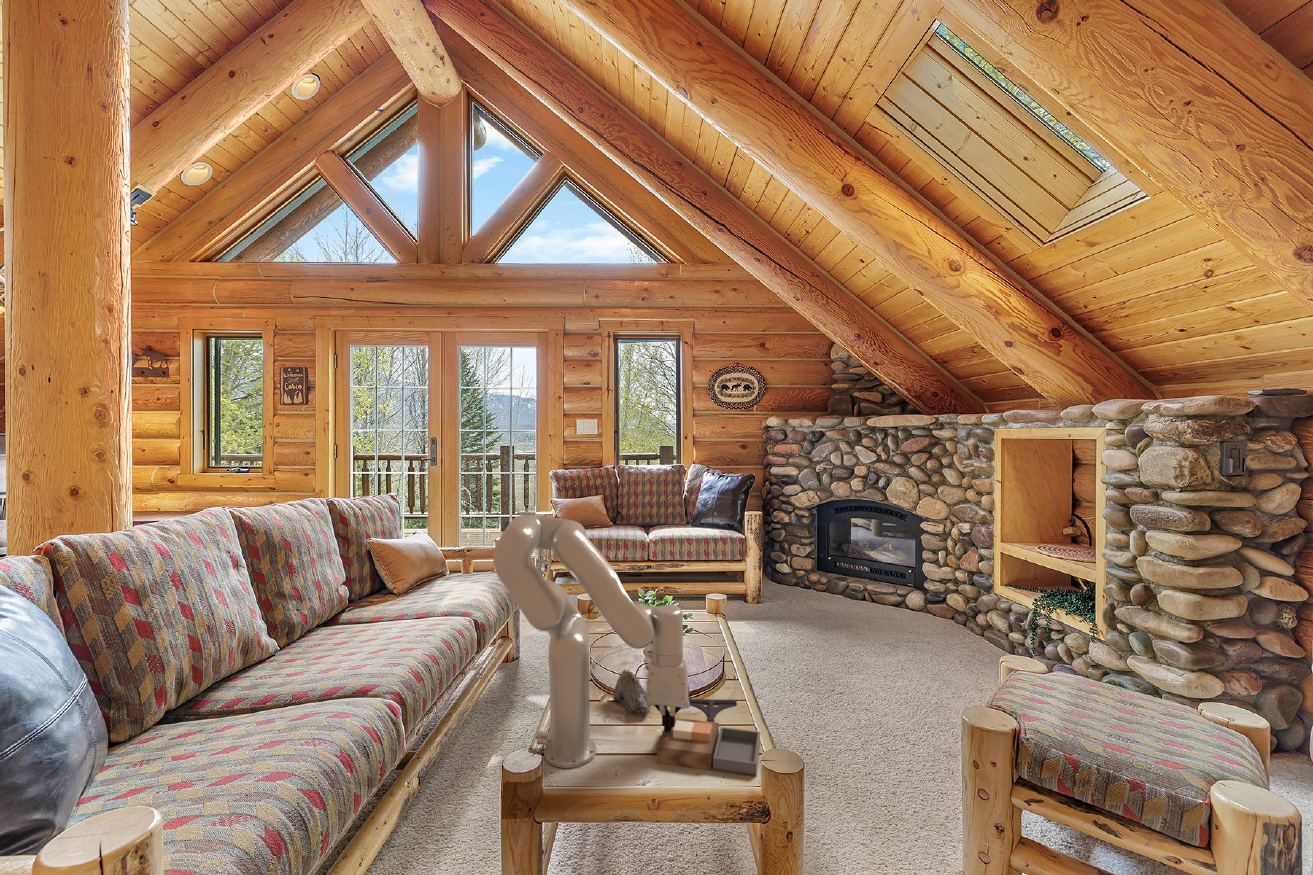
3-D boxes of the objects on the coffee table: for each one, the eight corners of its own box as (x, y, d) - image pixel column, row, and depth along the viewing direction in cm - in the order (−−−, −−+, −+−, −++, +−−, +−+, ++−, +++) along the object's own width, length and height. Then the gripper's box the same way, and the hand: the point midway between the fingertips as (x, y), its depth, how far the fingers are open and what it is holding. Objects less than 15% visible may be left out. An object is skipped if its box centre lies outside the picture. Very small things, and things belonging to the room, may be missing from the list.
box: (713, 770, 142) (713, 757, 142) (720, 738, 156) (720, 726, 155) (756, 776, 140) (756, 763, 140) (760, 743, 153) (760, 731, 153)
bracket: (684, 731, 160) (684, 721, 160) (685, 703, 175) (685, 693, 175) (739, 733, 159) (739, 723, 159) (736, 705, 174) (736, 695, 174)
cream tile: (673, 737, 149) (673, 729, 149) (676, 727, 153) (676, 720, 153) (691, 739, 148) (691, 731, 148) (694, 730, 152) (694, 722, 152)
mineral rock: (650, 720, 165) (650, 684, 164) (610, 720, 165) (610, 684, 164) (650, 697, 178) (650, 663, 177) (614, 697, 178) (613, 663, 177)
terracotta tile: (691, 739, 148) (691, 731, 148) (694, 729, 152) (694, 721, 152) (709, 741, 147) (709, 733, 147) (712, 731, 151) (712, 724, 151)
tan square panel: (656, 762, 145) (656, 746, 145) (668, 731, 159) (668, 716, 158) (710, 770, 142) (710, 753, 142) (718, 737, 156) (718, 722, 155)
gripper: (634, 660, 148) (635, 733, 149) (695, 665, 145) (695, 740, 146) (642, 648, 156) (643, 717, 157) (700, 653, 152) (700, 724, 153)
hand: (668, 728), depth 151 cm, fingers closed
